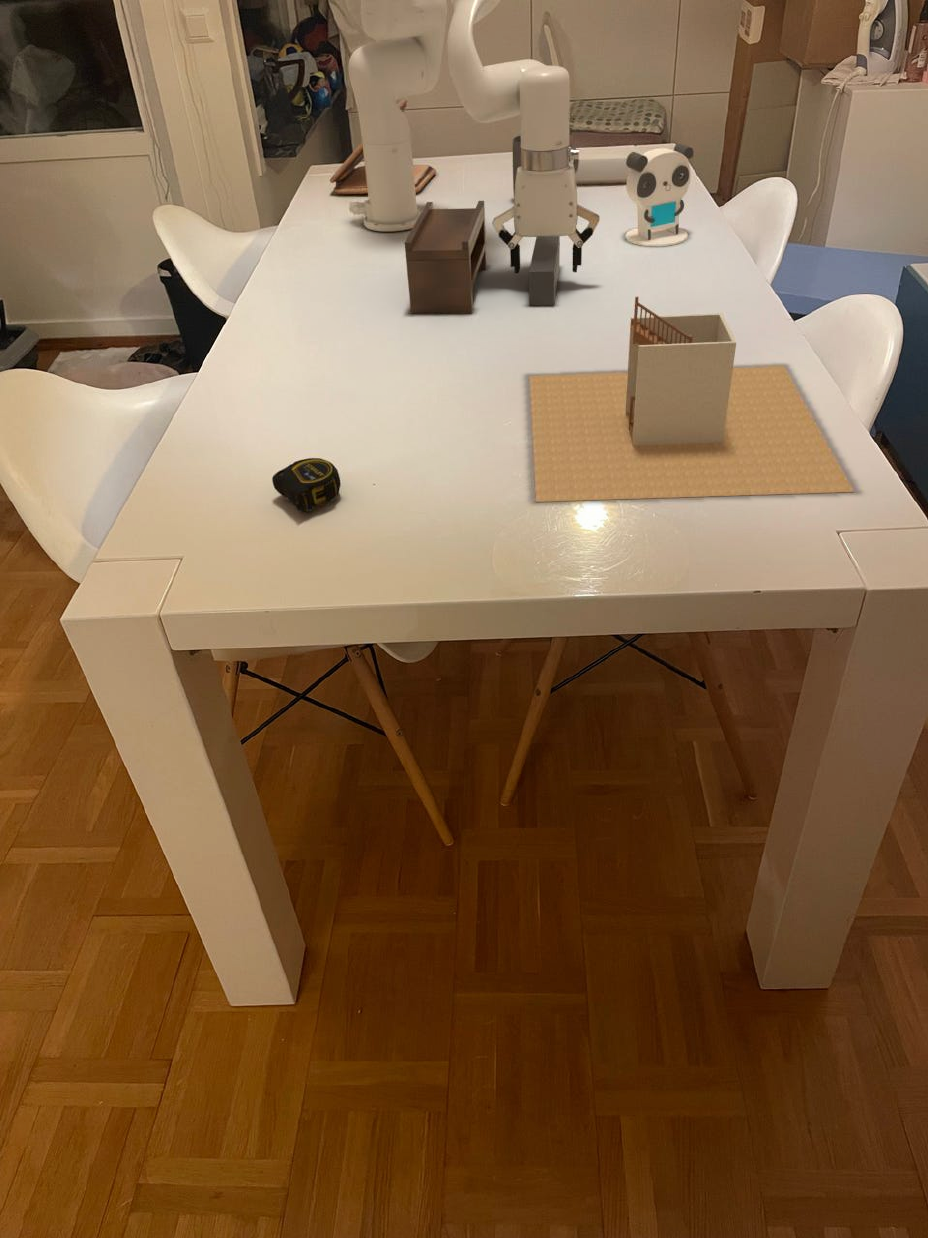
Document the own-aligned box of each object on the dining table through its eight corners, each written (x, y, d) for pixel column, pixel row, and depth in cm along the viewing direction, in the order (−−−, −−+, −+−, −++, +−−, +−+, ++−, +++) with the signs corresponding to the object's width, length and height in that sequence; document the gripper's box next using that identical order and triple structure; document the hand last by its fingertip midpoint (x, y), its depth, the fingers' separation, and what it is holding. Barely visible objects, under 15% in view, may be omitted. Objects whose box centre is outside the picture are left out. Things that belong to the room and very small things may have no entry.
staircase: (624, 412, 119) (631, 283, 108) (710, 409, 118) (726, 279, 108) (631, 445, 112) (640, 311, 102) (722, 442, 111) (741, 307, 101)
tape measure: (273, 496, 108) (267, 468, 105) (325, 477, 110) (320, 449, 108) (299, 521, 103) (293, 493, 101) (353, 500, 106) (348, 472, 104)
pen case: (528, 305, 149) (528, 271, 146) (536, 267, 163) (536, 235, 160) (554, 305, 149) (554, 271, 145) (559, 267, 162) (560, 235, 159)
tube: (680, 156, 201) (565, 159, 203) (683, 153, 196) (565, 157, 198) (678, 183, 203) (564, 186, 205) (681, 181, 198) (564, 184, 200)
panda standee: (642, 250, 167) (647, 160, 157) (611, 234, 175) (615, 147, 165) (699, 239, 170) (708, 150, 160) (666, 223, 178) (673, 138, 169)
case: (354, 172, 222) (345, 97, 212) (439, 171, 218) (433, 95, 208) (328, 196, 207) (316, 116, 197) (418, 196, 203) (411, 115, 193)
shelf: (411, 313, 150) (404, 242, 143) (432, 267, 166) (426, 201, 159) (472, 313, 148) (468, 241, 141) (487, 266, 165) (484, 200, 158)
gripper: (601, 150, 145) (598, 261, 156) (492, 155, 147) (497, 264, 158) (600, 162, 139) (597, 276, 150) (487, 166, 142) (492, 279, 152)
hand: (546, 270), depth 154 cm, fingers open, 9 cm apart
